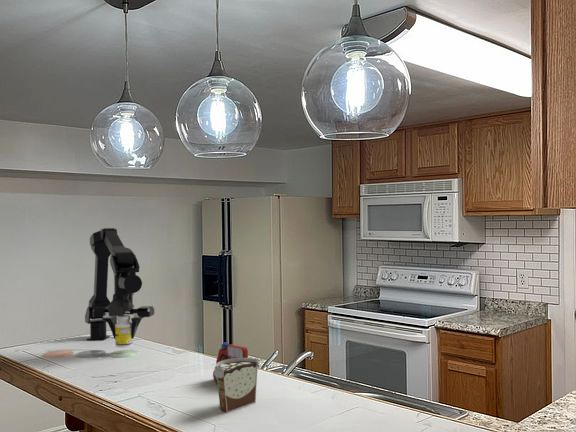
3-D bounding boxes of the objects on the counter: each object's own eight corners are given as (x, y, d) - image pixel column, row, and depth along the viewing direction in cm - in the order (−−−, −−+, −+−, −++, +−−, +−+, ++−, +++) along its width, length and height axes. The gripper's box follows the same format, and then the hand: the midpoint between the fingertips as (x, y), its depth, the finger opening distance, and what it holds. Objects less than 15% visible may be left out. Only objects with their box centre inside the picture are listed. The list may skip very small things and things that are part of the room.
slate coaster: (83, 352, 198) (83, 350, 198) (109, 352, 198) (109, 350, 198) (72, 358, 189) (71, 356, 189) (99, 358, 189) (99, 356, 189)
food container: (240, 396, 143) (240, 355, 143) (259, 401, 139) (259, 358, 140) (202, 409, 134) (202, 365, 134) (222, 414, 130) (221, 369, 130)
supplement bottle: (115, 344, 194) (114, 314, 195) (132, 343, 196) (132, 314, 196) (115, 348, 189) (115, 317, 189) (133, 347, 191) (132, 316, 191)
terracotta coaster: (50, 352, 199) (50, 350, 199) (77, 352, 199) (77, 349, 199) (38, 358, 190) (38, 356, 190) (66, 358, 190) (66, 356, 190)
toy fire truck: (229, 376, 163) (229, 338, 163) (257, 385, 153) (256, 344, 153) (208, 381, 158) (207, 342, 158) (235, 390, 149) (234, 349, 149)
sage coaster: (115, 352, 197) (115, 350, 197) (142, 352, 197) (142, 350, 197) (105, 358, 188) (105, 356, 188) (133, 358, 188) (133, 356, 188)
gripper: (85, 293, 185) (85, 343, 185) (143, 293, 184) (144, 343, 184) (99, 289, 197) (99, 336, 197) (154, 288, 195) (155, 336, 195)
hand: (124, 338), depth 193 cm, fingers closed on supplement bottle, 5 cm apart
